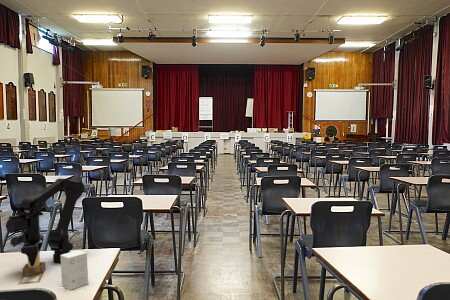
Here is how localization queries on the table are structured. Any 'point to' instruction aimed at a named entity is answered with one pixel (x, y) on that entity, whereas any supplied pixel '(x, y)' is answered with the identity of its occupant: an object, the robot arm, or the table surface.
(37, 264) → the block
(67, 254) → the small box
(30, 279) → the board
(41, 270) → the pocket
